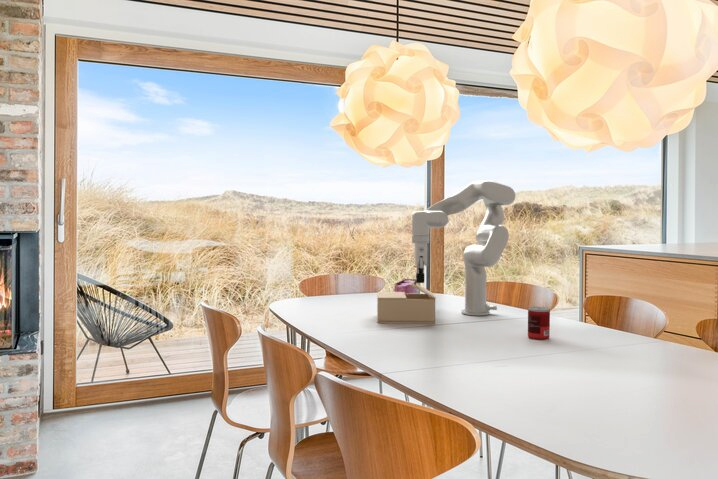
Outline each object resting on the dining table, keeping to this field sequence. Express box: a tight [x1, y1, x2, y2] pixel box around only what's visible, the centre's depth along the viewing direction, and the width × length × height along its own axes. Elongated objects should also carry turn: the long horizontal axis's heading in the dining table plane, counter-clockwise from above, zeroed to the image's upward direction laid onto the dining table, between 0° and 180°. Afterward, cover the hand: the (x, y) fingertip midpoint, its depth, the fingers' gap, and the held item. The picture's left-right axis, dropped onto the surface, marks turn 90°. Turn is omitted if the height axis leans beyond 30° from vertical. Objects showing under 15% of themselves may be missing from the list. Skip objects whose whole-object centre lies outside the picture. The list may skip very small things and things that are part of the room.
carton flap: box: [409, 273, 436, 300], centre depth 245 cm, size 12×17×6 cm
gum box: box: [393, 278, 421, 294], centre depth 270 cm, size 24×8×14 cm, turn 162°
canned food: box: [527, 306, 551, 341], centre depth 209 cm, size 8×8×11 cm
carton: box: [376, 291, 436, 324], centre depth 246 cm, size 24×18×11 cm
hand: (420, 281), depth 245 cm, fingers closed on carton flap, 3 cm apart
